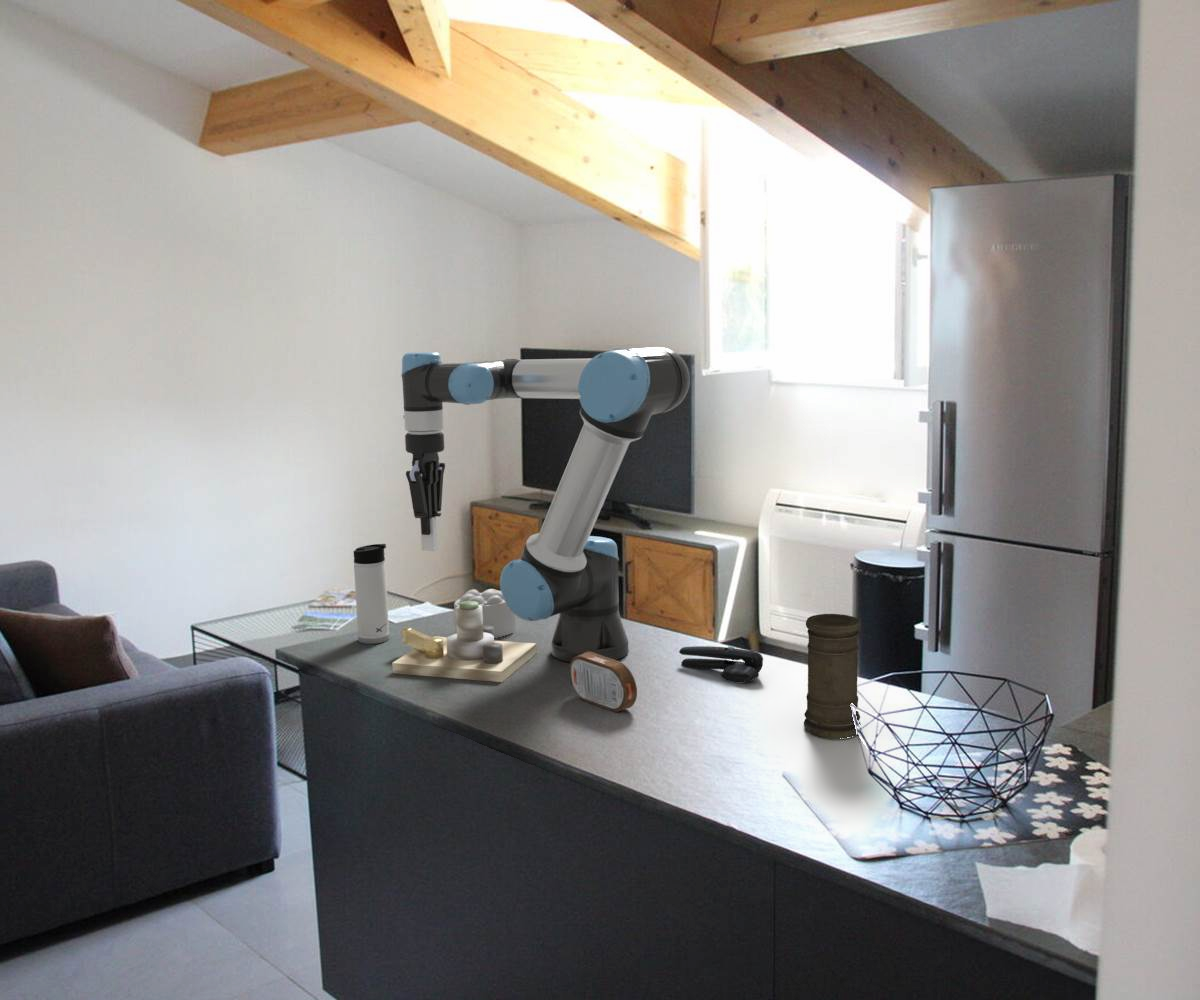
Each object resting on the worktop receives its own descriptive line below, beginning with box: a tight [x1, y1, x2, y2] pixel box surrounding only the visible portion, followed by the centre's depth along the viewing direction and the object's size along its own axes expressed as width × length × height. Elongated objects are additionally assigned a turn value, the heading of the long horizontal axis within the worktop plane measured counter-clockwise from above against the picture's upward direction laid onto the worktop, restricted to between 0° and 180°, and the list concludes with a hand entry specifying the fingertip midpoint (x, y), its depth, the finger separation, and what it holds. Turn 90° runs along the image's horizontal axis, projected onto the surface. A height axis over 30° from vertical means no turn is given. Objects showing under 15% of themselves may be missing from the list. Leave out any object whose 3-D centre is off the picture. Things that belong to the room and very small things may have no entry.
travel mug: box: [353, 543, 390, 645], centre depth 238 cm, size 6×7×20 cm
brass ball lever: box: [401, 626, 444, 658], centre depth 224 cm, size 13×4×3 cm, turn 38°
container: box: [803, 613, 862, 740], centre depth 183 cm, size 9×9×18 cm
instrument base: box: [391, 601, 538, 683], centre depth 222 cm, size 22×18×12 cm
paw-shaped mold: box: [453, 588, 518, 639], centre depth 242 cm, size 10×13×9 cm
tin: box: [569, 652, 638, 713], centre depth 198 cm, size 15×3×8 cm, turn 41°
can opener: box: [678, 645, 764, 684], centre depth 214 cm, size 18×7×6 cm, turn 49°
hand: (429, 549), depth 231 cm, fingers closed
